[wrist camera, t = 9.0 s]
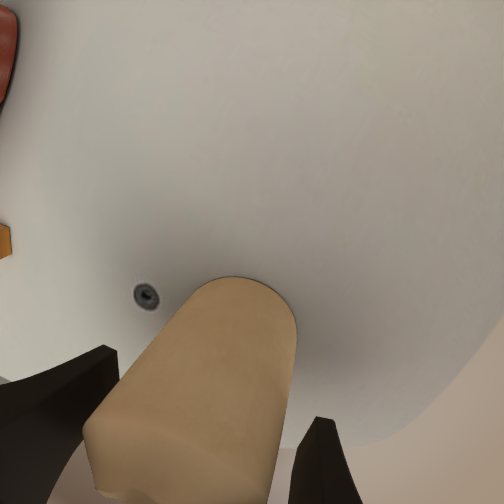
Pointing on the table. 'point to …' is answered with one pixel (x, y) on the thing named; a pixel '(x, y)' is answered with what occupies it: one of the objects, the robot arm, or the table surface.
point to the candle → (200, 403)
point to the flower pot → (6, 47)
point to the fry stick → (4, 241)
